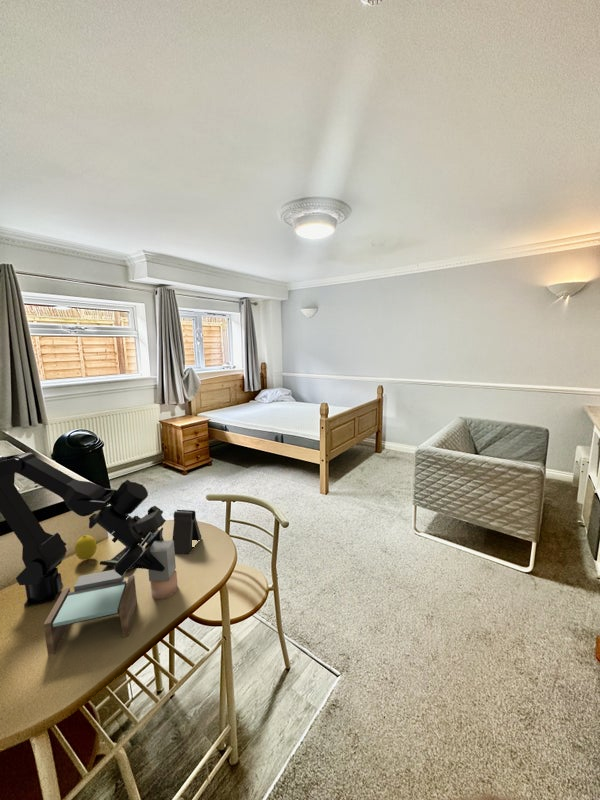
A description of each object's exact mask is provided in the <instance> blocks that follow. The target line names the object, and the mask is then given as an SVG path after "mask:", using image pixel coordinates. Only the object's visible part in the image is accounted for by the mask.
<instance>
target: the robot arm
mask: <svg viewBox="0 0 600 800" xmlns="http://www.w3.org/2000/svg"><path fill="white" fill-rule="evenodd" d="M16 474H18V475H20V476H22V477H24V478H26V479H27V480H29V481H31V482H33V483H35V484H37V485H38V486H40V487H42V488H44V489H46V490H48V491H49V492H51V493H53V494H55V495H56V496H58V497H60V498H61V499H62V500H63V502H64V504H65V505H66V507H67V508H69V510H70V511H72V512H73V513H74V514H76V515H77V516H80V517H87V516H89V517H88V520H89V523H88V529H92V528H94V527H95V526H96V525H98V526H99V527H101V528H102V529H103V530H105V531H106V532H107V533H109V534H110V535H111V536H112V537H113V538H112V539H111V541H112V542H113V543H116V542H117V541H118V542H120V543H121V544H122V545H123V546H125V548H126V547H127V548H126V549H125V552H126V553H125V554H124V555H123V556H122V557H121V558H120V560H119V561H118V562H117V563H116V564H115V566H113V568H114V569H113V570H115V572H116V573H118V574H119V575H120V576H122V575H123V574H124V573H125V574H126V572H127V571H128V570H132V569H142V570H143V569H144V570H148V569H149V570H155V571H161V572H162V571H163V570H164V569H165V567H164V566H163V565H162V564H161V563H160V562H159V561H158V560H157V559H156V558H155V557H154V556H153V555H152V554H151V552H150V547H151V545H152V544H153V543H154V541H165V539H164V536H163V530H164V527H162V526H163V525H164V524H165V523H166V521H167V520H166V519H165V518H164V517H163V513H164V511H163V510H161V508H159V507H157V506H156V505H153V506H151V507H149V509H148V510H147V514H145V515H144V516H143V517H139V516H138V515H133V517H132V516H131V514H133V512H134V511H135V510H136V509H137V508H139V507H140V505H141V504H142V503H143V502H144V501H145V500H146V499H147V498H148V496H149V493H148V490H147V489H146V487H145V485H143V484H141V483H138V482H134V481H131V480H129V479H125V480H124V481H123V482H122V483H121V484H120V485H119V486H118V488H117V489H113V488H105V487H103V486H102V485H99V484H96V483H94V482H91V481H83V480H78V479H76V478H73V476H70V475H69V474H66V473H65V472H63V471H61V470H59V469H58V468H56V467H54V466H53V465H50V464H49V463H47V462H45V461H44V460H41V459H40V458H38V457H37V455H36V454H34V453H32V452H23V453H20V454H18V453H17V454H12V455H6V456H4V455H0V513H1V515H2V516H3V519H5V520H4V521H6V523H7V524H8V526H9V527H10V529H11V530H12V532H13V533H14V535H15V536H16V538H17V539H18V540H19V542H20V544H21V545H22V551H21V552H22V556H21V560H22V562H23V564H24V567H25V568H24V569H23V570H21V572H20V573H19V574H18V575H17V576H16V577H15V580H16V582H17V583H18V585H19V586H24V587H25V594H26V601H25V602H24V604H23V606H24V607H30V606H36V605H40V604H44V603H49V602H53V601H55V600H56V598H57V597H58V595H59V593H60V592H61V590H62V588H63V586H64V584H63V581H62V574H61V573H60V572H59V569H58V566H60V565H61V564H62V561H63V559H64V558H65V557H66V554H67V552H68V551H67V547H66V545H67V543H66V542H65V541H64V540H63V538H62V537H61V535H60V533H59V532H56V533H54V534H51V533H49V532H46V530H44V528H43V526H42V525H41V524H40V522H39V521H38V519H37V518H36V516H35V514H34V513H33V511H32V510H31V509H30V506H29V505H28V504H27V502H26V501H25V499H24V498H23V496H22V495H21V493H20V491H19V490H18V488H17V487H16V485H15V479H16V478H15V477H16V476H15V475H16ZM109 504H110V505H109ZM95 512H98V513H95ZM129 514H130V515H129ZM160 527H161V528H160ZM145 548H147V549H145Z"/></svg>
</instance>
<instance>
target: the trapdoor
mask: <svg viewBox="0 0 600 800" xmlns="http://www.w3.org/2000/svg"><path fill="white" fill-rule="evenodd" d="M125 577H126V572H125V573H124V574H123V575H122V576H120V575H119V574H118V573H116V572H115V569H111V570H105V571H104V570H103V571H99V572H95V573H90V574H89V573H88V574H84V575H83V574H82V575H79V576H78V578H77V580H76V582H75V584H74V586H73V591H70V592H69V593H68V596H67V598H66V600H65V602H64V604H63V606H62V607H61V609H60V611H59V613H58V615H57V617H56V619H55V620H54V622H53V627H56V626H60V625H65V624H69V625H70V624H73V623H77V622H82V621H86V620H93V619H95V618H101V617H105V616H110V615H115V614H118V613H119V607H120V604H121V600H122V597H123V594H124V591H125V587H126V584H127V581H126V580H125Z"/></svg>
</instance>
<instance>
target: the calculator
mask: <svg viewBox="0 0 600 800" xmlns="http://www.w3.org/2000/svg"><path fill="white" fill-rule="evenodd" d="M126 548H127V547H126V546H125V547H124V548H123V549H122V550H121V551H119V552H118V553H117V554H116V555H115V556H113V557H112V558H111V559H109V560H108V559H107V560H100V561H99V566H112V567H114V566H115V564H116V563H117V562H118V561H119V560H120V558H121V557H122V556H123V555H124V554H125V553H126V552H125V549H126ZM144 548H145V547H144ZM145 549H147V548H145Z"/></svg>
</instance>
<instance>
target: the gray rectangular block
mask: <svg viewBox="0 0 600 800" xmlns="http://www.w3.org/2000/svg"><path fill="white" fill-rule="evenodd" d="M150 552H151V554H152V555H153V556H154V557H155V558H156V559H157V560H158V561H159V562H160V563H161V564H162V565H163V566H164V567H165V569H164V570H163V571H162V572H161V571H155V570H149V569H147V570H148V572H147V573H148V581H149V582H150V581H169V580H170V578H171V576H172V574H173V572H174V570H175V571H176V569H177V567H176V555H175V554H176V553H175V551H174V540H164V541H154V543H153V544H152V545H151V547H150Z"/></svg>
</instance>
